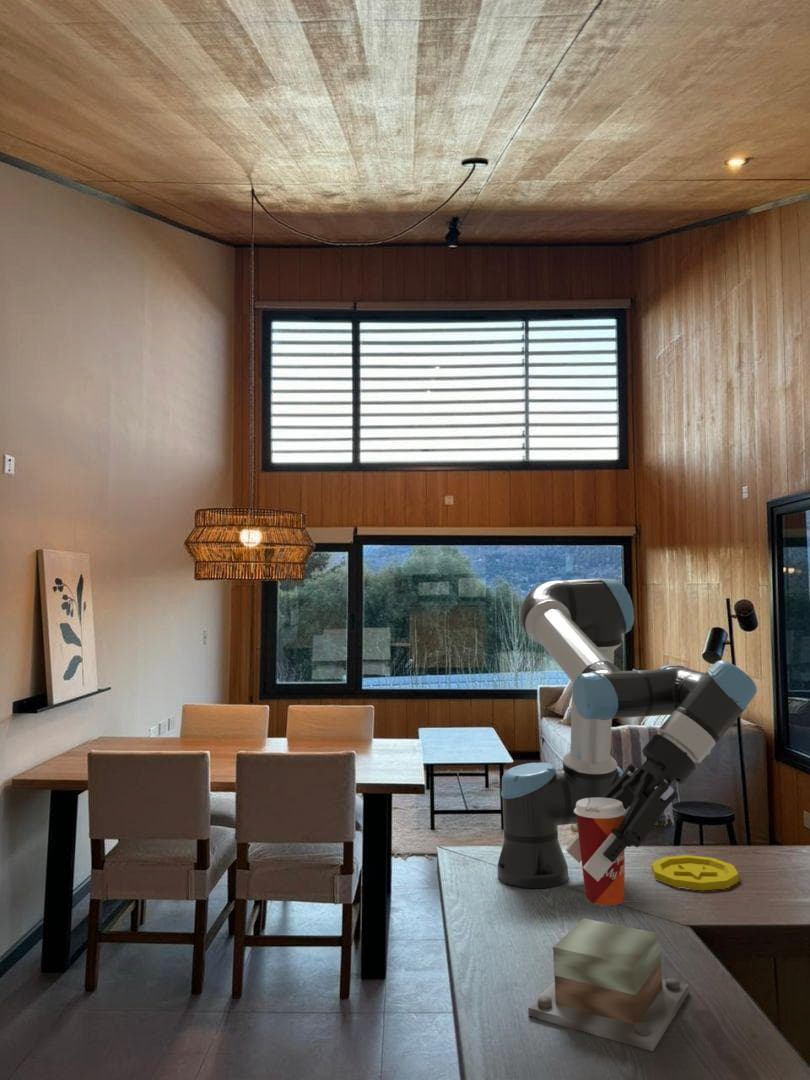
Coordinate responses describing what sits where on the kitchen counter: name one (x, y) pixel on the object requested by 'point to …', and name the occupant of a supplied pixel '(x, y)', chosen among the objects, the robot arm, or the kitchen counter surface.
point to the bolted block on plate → (610, 985)
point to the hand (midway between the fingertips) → (581, 865)
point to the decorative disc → (695, 872)
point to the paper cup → (593, 830)
